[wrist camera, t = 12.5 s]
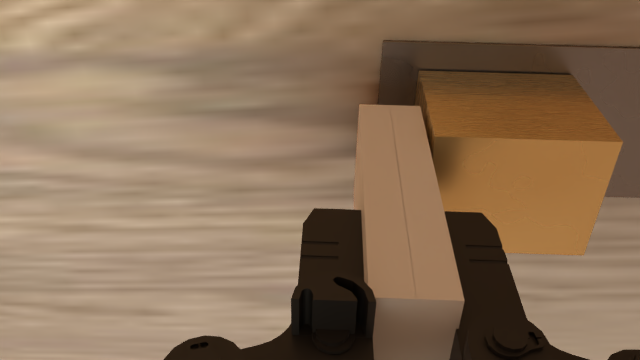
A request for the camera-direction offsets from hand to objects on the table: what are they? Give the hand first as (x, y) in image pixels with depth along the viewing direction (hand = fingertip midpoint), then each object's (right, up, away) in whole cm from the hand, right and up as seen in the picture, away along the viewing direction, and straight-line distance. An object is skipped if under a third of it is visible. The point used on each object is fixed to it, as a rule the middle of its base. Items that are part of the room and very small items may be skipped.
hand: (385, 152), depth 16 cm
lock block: (+3, +1, +1) cm, 3 cm away
